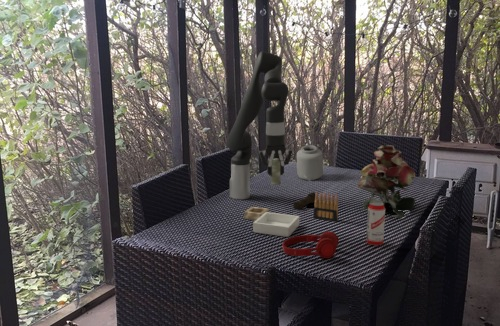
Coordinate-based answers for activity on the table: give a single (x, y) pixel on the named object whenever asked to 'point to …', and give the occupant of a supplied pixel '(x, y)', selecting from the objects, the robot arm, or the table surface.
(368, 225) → the beer can
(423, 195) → the table surface
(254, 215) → the holder
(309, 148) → the jar
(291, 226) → the tray
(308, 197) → the hand tool
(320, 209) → the ammunition clip
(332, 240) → the headphones
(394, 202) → the rose bouquet
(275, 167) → the dowel
